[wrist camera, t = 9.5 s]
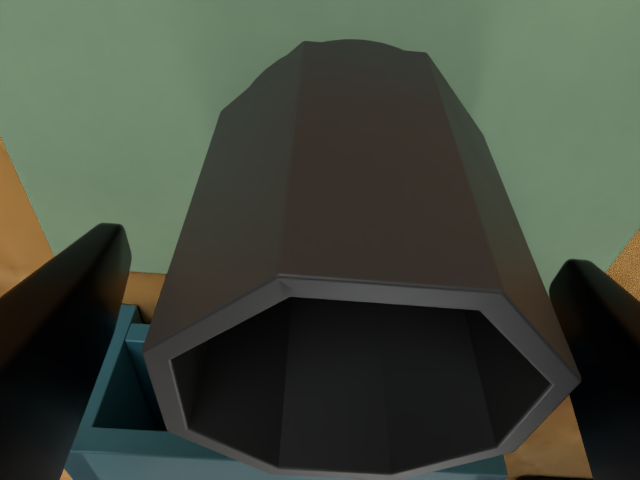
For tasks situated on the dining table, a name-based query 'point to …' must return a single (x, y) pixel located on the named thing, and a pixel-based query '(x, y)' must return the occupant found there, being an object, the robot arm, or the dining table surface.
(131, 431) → the box
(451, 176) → the holder
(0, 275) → the dining table surface
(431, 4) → the mat
